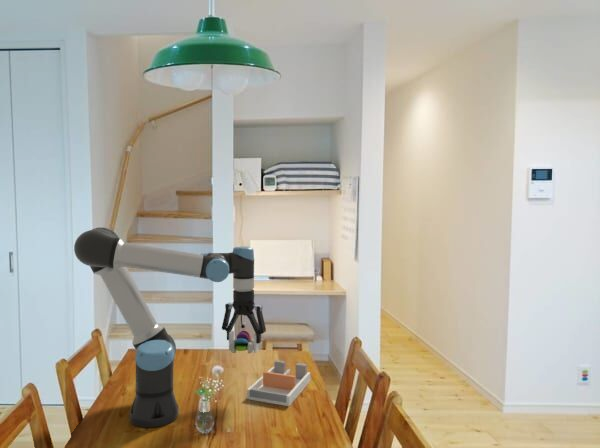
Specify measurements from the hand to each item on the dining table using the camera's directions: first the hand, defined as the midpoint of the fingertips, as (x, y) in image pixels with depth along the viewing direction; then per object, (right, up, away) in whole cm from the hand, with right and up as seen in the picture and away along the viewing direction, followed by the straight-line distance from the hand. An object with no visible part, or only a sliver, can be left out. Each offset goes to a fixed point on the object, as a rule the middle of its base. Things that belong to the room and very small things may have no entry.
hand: (243, 350), depth 168 cm
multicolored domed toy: (0, 0, 0) cm, 1 cm away
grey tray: (+13, -16, +4) cm, 21 cm away
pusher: (+14, -14, +8) cm, 22 cm away
